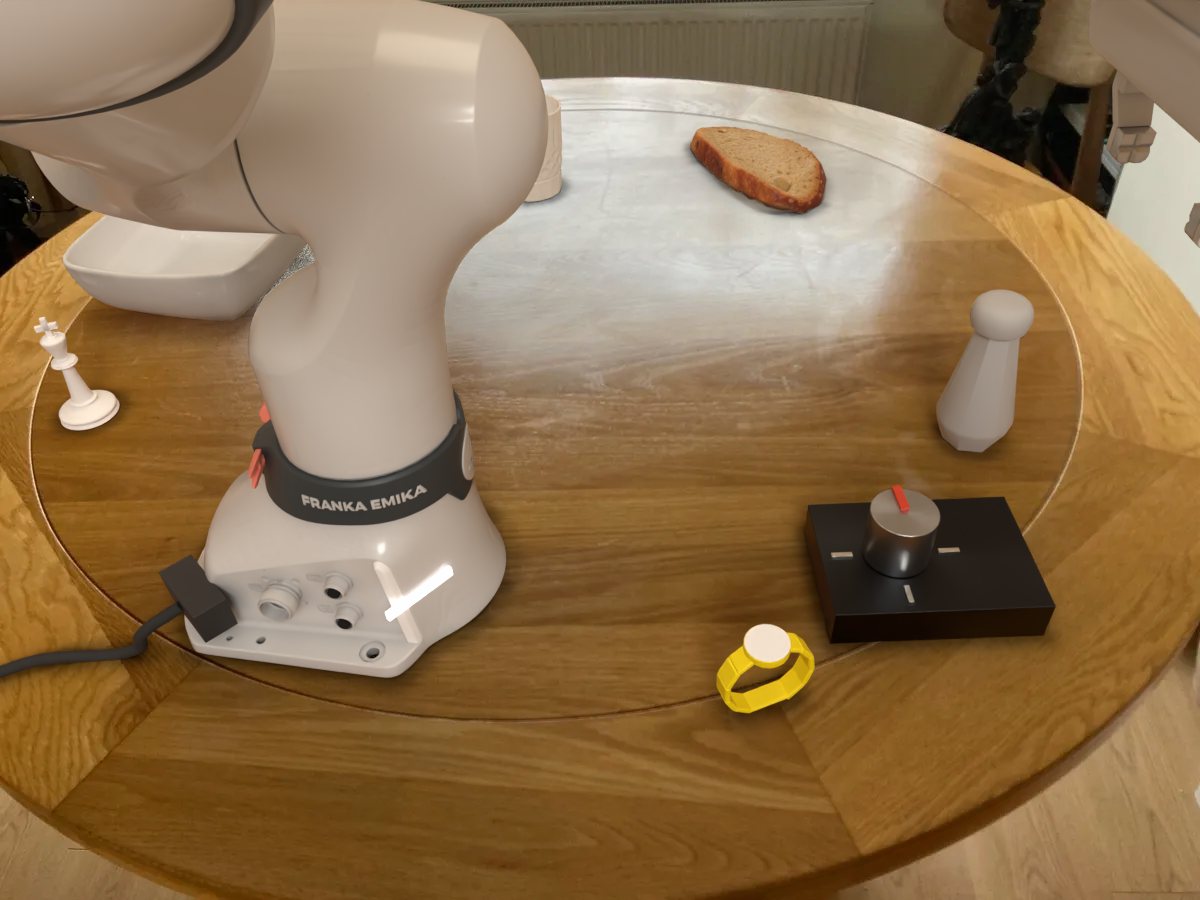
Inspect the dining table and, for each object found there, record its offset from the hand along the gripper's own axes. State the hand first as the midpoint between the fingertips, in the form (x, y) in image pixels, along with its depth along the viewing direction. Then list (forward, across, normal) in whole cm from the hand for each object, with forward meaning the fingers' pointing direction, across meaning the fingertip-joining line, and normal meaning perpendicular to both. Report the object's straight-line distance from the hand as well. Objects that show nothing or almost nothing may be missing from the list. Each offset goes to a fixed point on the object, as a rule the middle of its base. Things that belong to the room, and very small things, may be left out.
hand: (1162, 197), depth 51 cm
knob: (+24, -3, +11) cm, 27 cm away
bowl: (+27, +41, +71) cm, 86 cm away
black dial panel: (+27, -3, +9) cm, 29 cm away
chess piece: (+27, +20, +76) cm, 83 cm away
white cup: (+27, +59, +38) cm, 75 cm away
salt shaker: (+27, +12, +1) cm, 30 cm away
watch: (+27, -12, +21) cm, 36 cm away
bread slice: (+27, +60, +12) cm, 67 cm away
